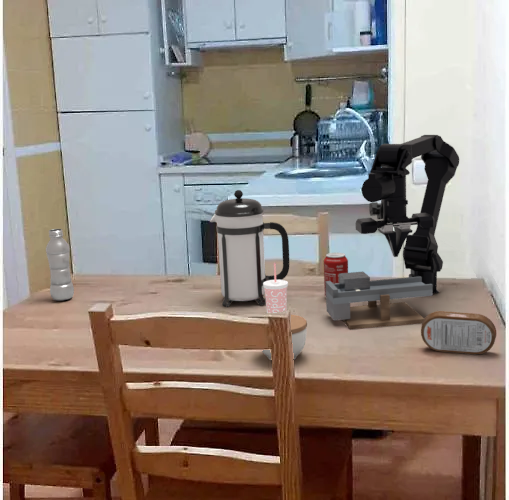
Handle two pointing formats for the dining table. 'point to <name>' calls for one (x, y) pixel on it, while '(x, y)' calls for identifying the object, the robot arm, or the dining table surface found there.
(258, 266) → the coffee press
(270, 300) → the beverage cup
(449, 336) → the tin
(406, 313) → the stand
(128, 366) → the dining table surface
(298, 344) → the lidded jar
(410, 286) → the beam
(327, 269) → the beverage can
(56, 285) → the plastic bottle
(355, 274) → the block
